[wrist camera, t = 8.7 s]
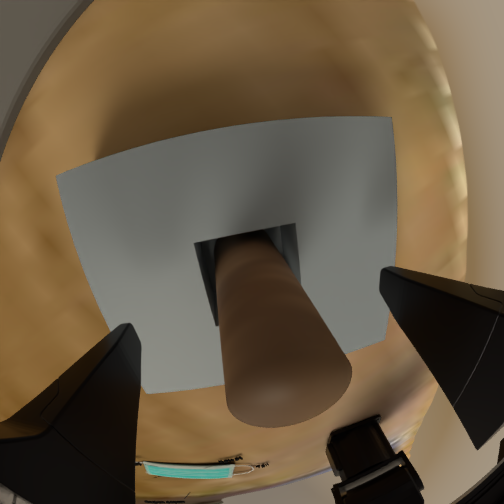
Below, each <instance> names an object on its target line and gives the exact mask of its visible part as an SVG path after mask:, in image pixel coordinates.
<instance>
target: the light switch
mask: <svg viewBox="0 0 504 504" xmlns="http://www.w3.org/2000/svg"><path fill="white" fill-rule="evenodd" d="M93 1H94V0H0V160H1V157H2V154H3V152H4V149H5V146H6V143H7V140H8V138H9V135H10V133H11V130H12V128H13V125H14V123H15V121H16V118H17V116H18V114H19V112H20V110H21V108H22V105H23V103H24V101H25V99H26V97H27V95H28V93H29V92H30V90H31V88H32V86H33V84H34V82H35V81H36V79H37V77H38V75H39V74H40V72H41V70H42V69H43V67H44V65H45V64H46V62H47V60H48V59H49V57H50V56H51V54H52V53H53V51H54V50H55V48H56V47H57V45H58V44H59V43H60V41H61V40H62V38H63V37H64V36H65V34H66V33H67V32H68V30H69V29H70V28H71V27H72V25H73V24H74V23H75V21H76V20H77V19H78V18H79V17H80V15H81V14H82V13H83V12H84V11H85V10H86V8H87V7H88V6H89V5H90V4H91V3H92V2H93Z"/></svg>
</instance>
